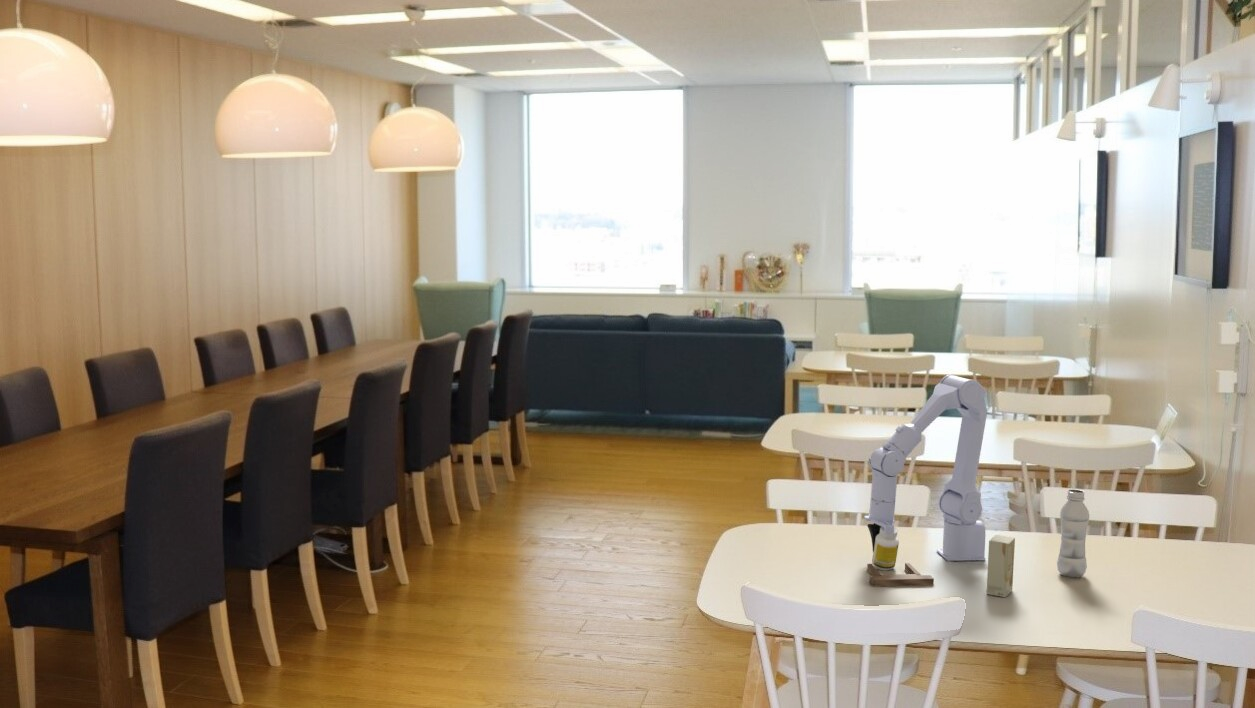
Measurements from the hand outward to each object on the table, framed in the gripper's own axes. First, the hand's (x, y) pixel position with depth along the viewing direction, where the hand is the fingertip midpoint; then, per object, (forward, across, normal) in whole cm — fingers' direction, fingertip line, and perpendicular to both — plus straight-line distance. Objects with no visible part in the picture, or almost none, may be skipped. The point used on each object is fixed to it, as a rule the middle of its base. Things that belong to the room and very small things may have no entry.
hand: (878, 555), depth 277 cm
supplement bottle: (+2, +2, +1) cm, 3 cm away
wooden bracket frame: (+2, +10, +1) cm, 10 cm away
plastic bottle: (0, +10, +42) cm, 44 cm away
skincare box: (+1, +21, +22) cm, 30 cm away
